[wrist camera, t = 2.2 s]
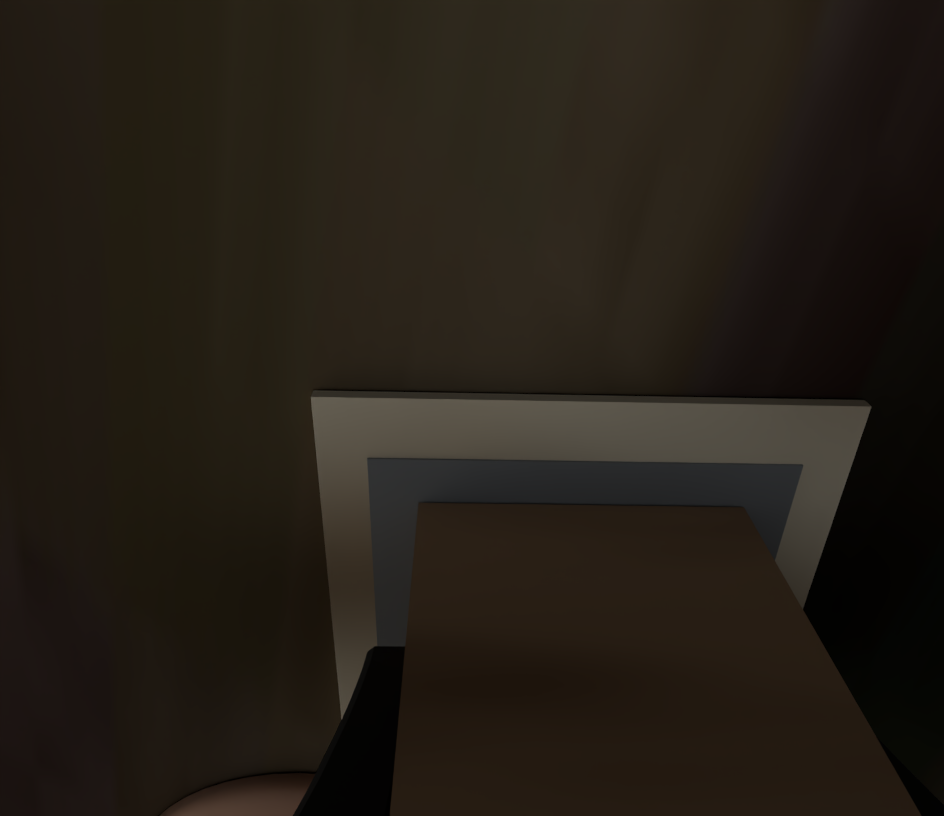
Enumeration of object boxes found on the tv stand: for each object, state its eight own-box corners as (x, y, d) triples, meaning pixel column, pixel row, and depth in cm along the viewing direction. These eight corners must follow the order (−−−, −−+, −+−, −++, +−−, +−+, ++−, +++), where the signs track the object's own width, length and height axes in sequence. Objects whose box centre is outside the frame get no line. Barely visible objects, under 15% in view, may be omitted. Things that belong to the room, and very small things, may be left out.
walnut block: (688, 722, 13) (834, 1183, 8) (421, 720, 13) (394, 1186, 8) (743, 507, 11) (1007, 964, 6) (418, 502, 11) (375, 962, 6)
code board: (742, 767, 14) (747, 781, 14) (348, 765, 14) (346, 778, 14) (864, 399, 10) (873, 409, 10) (313, 390, 10) (309, 400, 10)
